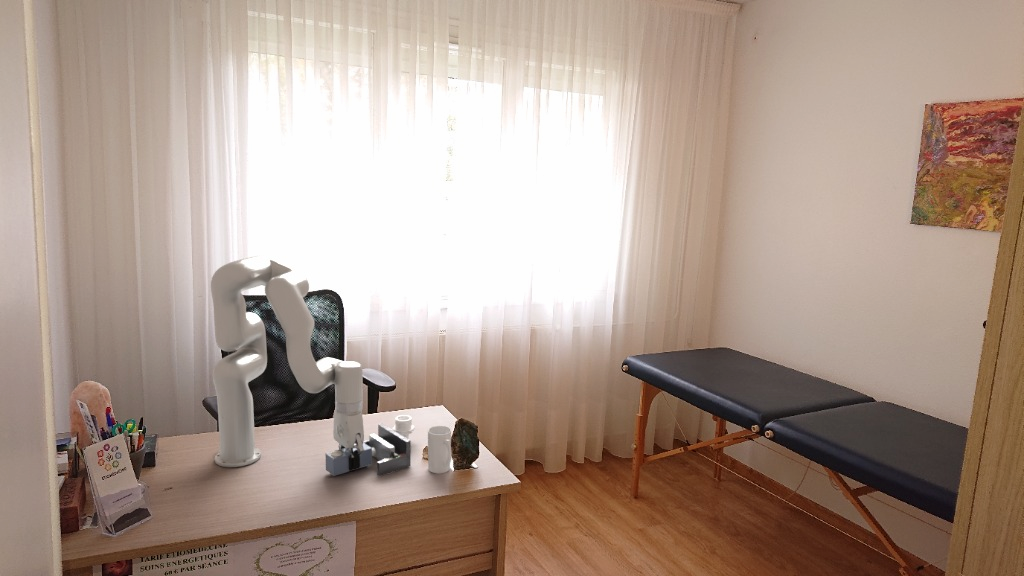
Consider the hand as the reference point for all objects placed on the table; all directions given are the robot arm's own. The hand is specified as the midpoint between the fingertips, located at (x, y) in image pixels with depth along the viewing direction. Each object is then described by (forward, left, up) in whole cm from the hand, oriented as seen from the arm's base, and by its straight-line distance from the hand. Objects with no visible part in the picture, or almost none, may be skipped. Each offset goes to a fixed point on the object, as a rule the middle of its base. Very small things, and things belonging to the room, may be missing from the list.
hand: (349, 465), depth 188 cm
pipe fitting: (-8, +23, -2) cm, 24 cm away
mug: (+16, +21, -2) cm, 26 cm away
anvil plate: (+1, +10, -1) cm, 10 cm away
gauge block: (0, 0, -1) cm, 1 cm away
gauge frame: (0, +10, -2) cm, 10 cm away
